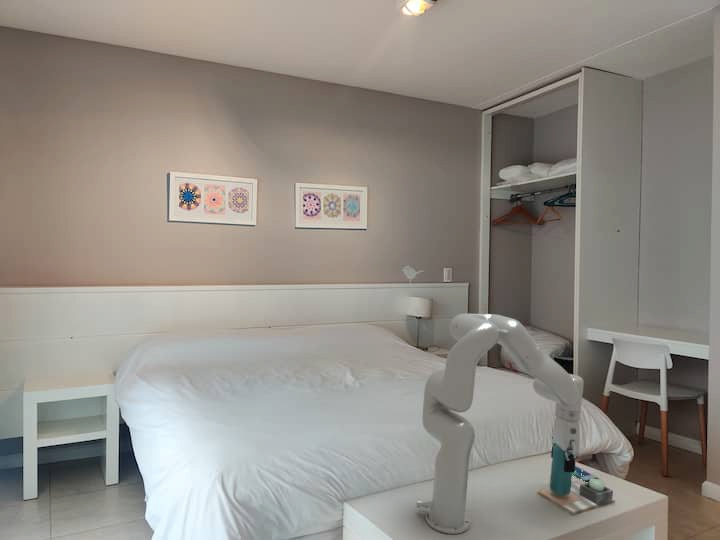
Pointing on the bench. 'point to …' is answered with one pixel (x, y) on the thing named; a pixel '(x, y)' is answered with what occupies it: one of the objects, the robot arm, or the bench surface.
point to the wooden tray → (585, 498)
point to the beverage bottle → (559, 473)
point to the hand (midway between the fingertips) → (562, 464)
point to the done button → (596, 485)
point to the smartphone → (578, 474)
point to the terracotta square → (559, 497)
